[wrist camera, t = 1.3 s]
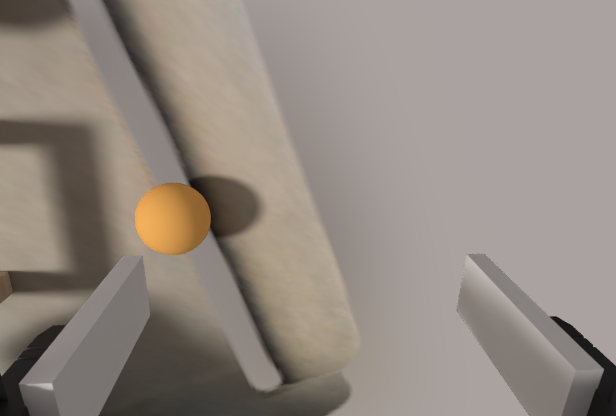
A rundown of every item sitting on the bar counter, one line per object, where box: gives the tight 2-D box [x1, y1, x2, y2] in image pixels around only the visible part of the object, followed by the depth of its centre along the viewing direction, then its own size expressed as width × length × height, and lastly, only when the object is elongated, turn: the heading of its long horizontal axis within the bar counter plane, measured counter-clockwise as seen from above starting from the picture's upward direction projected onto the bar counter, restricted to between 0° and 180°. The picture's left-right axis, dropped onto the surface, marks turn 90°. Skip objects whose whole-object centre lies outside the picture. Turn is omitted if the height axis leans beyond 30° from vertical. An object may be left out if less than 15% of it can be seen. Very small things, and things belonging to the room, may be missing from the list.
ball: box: [135, 183, 211, 255], centre depth 31 cm, size 6×6×6 cm
